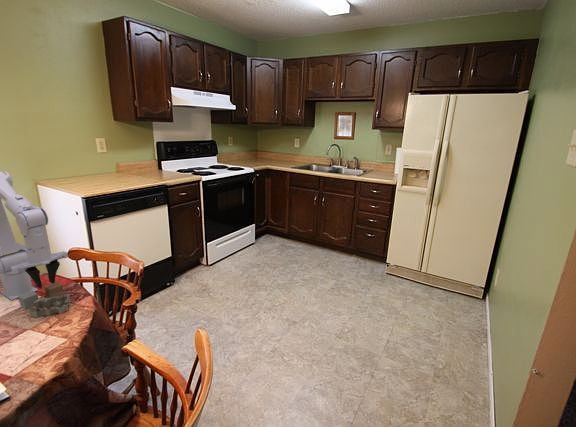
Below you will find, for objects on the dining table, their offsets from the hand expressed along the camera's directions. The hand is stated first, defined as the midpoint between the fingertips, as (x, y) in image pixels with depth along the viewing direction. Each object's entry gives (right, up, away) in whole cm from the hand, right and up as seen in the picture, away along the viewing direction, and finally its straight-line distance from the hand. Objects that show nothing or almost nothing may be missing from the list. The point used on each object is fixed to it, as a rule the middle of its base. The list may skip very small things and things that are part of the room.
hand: (46, 284), depth 101 cm
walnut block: (-5, -6, +11) cm, 14 cm away
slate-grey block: (-9, -8, +5) cm, 13 cm away
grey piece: (0, -9, +3) cm, 10 cm away
